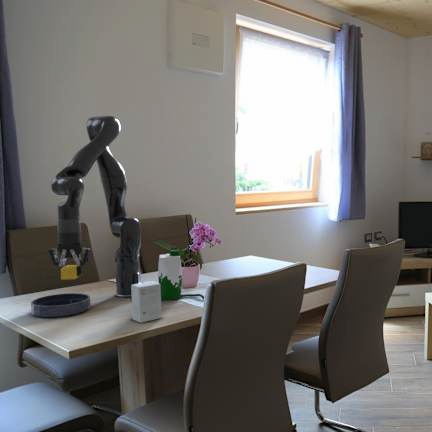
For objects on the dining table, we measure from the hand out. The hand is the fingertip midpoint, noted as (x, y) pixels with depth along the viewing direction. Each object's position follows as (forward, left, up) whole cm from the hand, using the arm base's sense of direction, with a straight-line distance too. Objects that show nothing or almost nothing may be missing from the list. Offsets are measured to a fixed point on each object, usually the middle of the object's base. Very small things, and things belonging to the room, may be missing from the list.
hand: (71, 275), depth 203 cm
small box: (-28, +12, -15) cm, 34 cm away
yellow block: (0, 0, -1) cm, 1 cm away
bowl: (+5, -4, -14) cm, 16 cm away
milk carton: (-32, -18, -15) cm, 40 cm away
